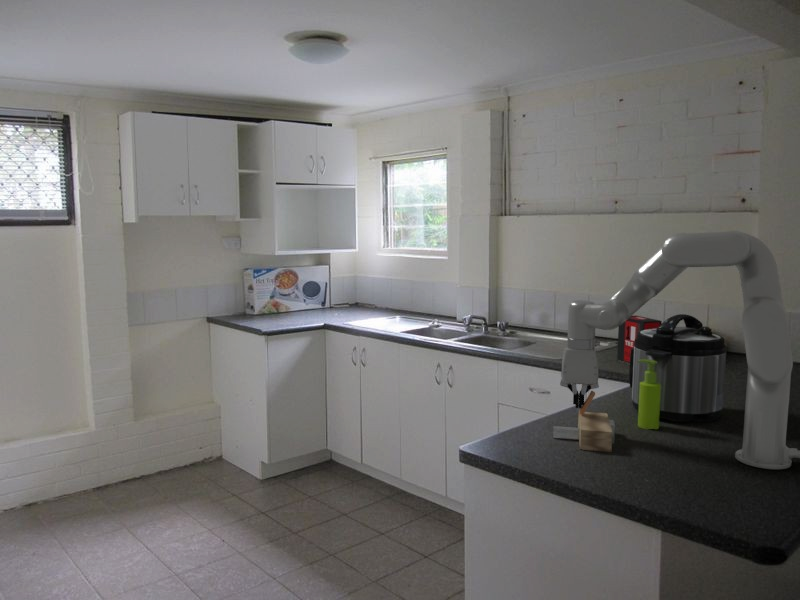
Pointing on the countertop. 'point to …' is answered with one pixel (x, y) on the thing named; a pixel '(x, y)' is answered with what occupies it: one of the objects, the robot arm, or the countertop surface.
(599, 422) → the block
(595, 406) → the countertop surface
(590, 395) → the bar
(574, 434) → the lynch pin
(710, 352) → the pressure cooker
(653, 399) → the soap dispenser
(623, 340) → the cleaning product box
